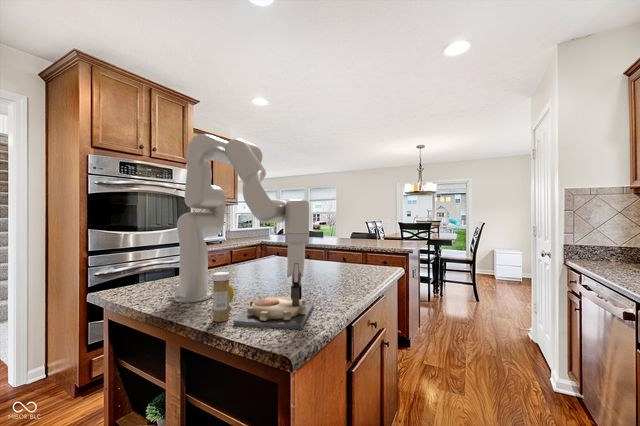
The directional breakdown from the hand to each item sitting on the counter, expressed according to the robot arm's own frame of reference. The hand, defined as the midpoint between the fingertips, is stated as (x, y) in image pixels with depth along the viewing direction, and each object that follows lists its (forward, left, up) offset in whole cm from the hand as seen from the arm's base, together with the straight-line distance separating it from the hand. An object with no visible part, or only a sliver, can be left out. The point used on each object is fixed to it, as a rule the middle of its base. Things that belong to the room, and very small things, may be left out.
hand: (296, 298), depth 86 cm
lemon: (-25, +3, -5) cm, 26 cm away
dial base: (-5, -3, -5) cm, 7 cm away
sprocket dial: (-5, -3, -3) cm, 7 cm away
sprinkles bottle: (-20, -9, -5) cm, 23 cm away
